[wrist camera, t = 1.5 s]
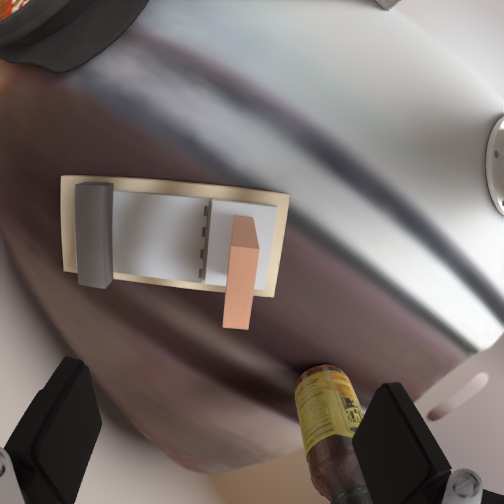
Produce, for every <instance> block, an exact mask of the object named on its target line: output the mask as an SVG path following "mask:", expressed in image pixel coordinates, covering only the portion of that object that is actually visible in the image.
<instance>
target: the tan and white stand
mask: <svg viewBox="0 0 504 504" xmlns="http://www.w3.org/2000/svg"><path fill="white" fill-rule="evenodd" d="M276 214H277V206H273V205H265V204H257V203H248V202H240V201H231V200H222V199H213V201H212V211H211V221H210V231H209V242H208V254H207V265H206V278H205V284H210V285H219V286H226V294H225V305H224V317H223V327H226V328H236V329H247V330H248V327H249V320H250V313H251V306H252V299H253V293H254V289H257V290H265V285H266V279H267V273H268V266H269V260H270V253H271V247H272V240H273V234H274V227H275V220H276Z"/></svg>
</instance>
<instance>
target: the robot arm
mask: <svg viewBox="0 0 504 504" xmlns="http://www.w3.org/2000/svg"><path fill="white" fill-rule="evenodd" d="M486 174H487V181H488V187H489V191H490V194H491V197H492V200H493V202H494V204H495V206H496V207H497V209H498V211H499V212H500V213H501V214H502V215H503V216H504V116H503V117H502V118H501V119H499V120H498V121H497V123H496V124H495V126H494V127H493V130H492V132H491V134H490V138H489V141H488V146H487V153H486ZM101 426H102V420H101V416H100V412H99V409H98V405H97V401H96V397H95V394H94V390H93V385H92V381H91V377H90V372H89V368H88V366H86V365H84V362H83V361H82V360H80V359H76V358H72V357H67V356H66V357H64V359H63V360H62V361H61V363H60V364H59V366H58V367H57V369H56V370H55V372H54V373H53V374H52V376H51V378H50V379H49V381H48V382H47V383H46V385H45V387H44V388H43V389H42V390H40V391H39V392H38V393H37V394H36V396H35V397H34V399H33V401H32V402H31V404H30V405H29V407H28V408H27V410H26V412H25V413H24V415H23V416H22V418H21V420H20V421H19V423H18V425H17V426H16V428H15V430H14V431H13V433H12V435H11V436H10V438H9V440H8V442H7V443H6V445H5V447H4V449H3V448H1V447H0V504H74V503H75V500H76V497H77V494H78V491H79V488H80V485H81V482H82V479H83V476H84V474H85V471H86V467H87V465H88V462H89V460H90V457H91V454H92V451H93V449H94V446H95V443H96V441H97V438H98V435H99V433H100V430H101ZM352 446H353V449H354V452H355V454H356V457H357V460H358V463H359V466H360V468H361V471H362V474H363V477H364V480H365V483H366V485H367V488H368V491H369V494H370V497H371V500H372V503H373V504H504V495H500V494H497V493H494V492H490V491H487V490H484V489H483V483H482V480H481V478H480V477H479V475H478V474H476V473H475V472H474V471H472V470H470V469H464V468H463V469H458V470H456V471H454V472H453V473H451V471H450V469H451V468H452V467H451V466H450V464H449V462H448V460H447V459H446V457H445V455H444V453H443V452H442V450H441V448H440V447H439V445H438V443H437V441H436V440H435V438H434V436H433V435H432V433H431V431H430V430H429V428H428V426H427V425H426V423H425V421H424V420H423V418H422V417H421V415H420V413H419V412H418V410H417V408H416V407H415V405H414V403H413V402H412V400H411V399H410V397H409V395H408V394H407V392H406V391H405V389H404V388H403V386H402V385H401V383H399V382H394V383H384V384H382V385H381V387H380V388H378V389H377V390H376V392H375V394H374V396H373V398H372V400H371V403H370V405H369V407H368V409H367V411H366V413H365V415H364V417H363V418H362V420H361V422H360V424H359V426H358V428H357V430H356V432H355V434H354V435H353V438H352Z"/></svg>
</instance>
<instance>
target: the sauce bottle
mask: <svg viewBox="0 0 504 504" xmlns="http://www.w3.org/2000/svg"><path fill="white" fill-rule="evenodd" d="M295 401H296V406H297V411H298V417H299V422H300V428H301V433H302V438H303V444H304V449H305V454H306V460H307V462H308V463H309V469H310V474H311V480H312V483H313V485H314V487H315V488H316V489H317V490H318V492H319V493H320V494H321V495H322V496H325V497H326V498H327V499H328V500H329V501H330V502H331V504H373V503H372V500H371V497H370V494H369V491H368V488H367V485H366V483H365V480H364V477H363V474H362V471H361V468H360V466H359V463H358V460H357V457H356V454H355V452H354V449H353V446H352V438H353V435H354V434H355V432H356V430H357V428H358V426H359V424H360V422H361V420H362V418H363V417H364V413H363V410H362V408H361V406H360V404H359V401H358V399H357V397H356V394H355V392H354V390H353V387H352V385H351V383H350V380H349V379H348V377H347V376H346V374H345V373H344V372H343V371H342V370H341V369H339V368H338V367H335V366H334V365H331V364H325V365H319V366H315V367H313V368H310V369H308V370H307V371H305V372H304V373H303V374H302V375H300V377H299V378H298V379H297V381H296V383H295Z"/></svg>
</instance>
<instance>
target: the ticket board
mask: <svg viewBox="0 0 504 504" xmlns="http://www.w3.org/2000/svg"><path fill="white" fill-rule="evenodd" d="M213 199H222V200H231V201H240V202H248V203H257V204H265V205H273V206H277V214H276V220H275V227H274V234H273V240H272V247H271V253H270V260H269V266H268V273H267V279H266V285H265V290H257V289H254V293H253V295H254V296H264V297H274V292H275V286H276V280H277V275H278V269H279V263H280V257H281V251H282V244H283V238H284V232H285V226H286V219H287V213H288V206H289V200H290V195H289V194H288V193H280V192H273V191H265V190H257V189H249V188H241V187H232V186H223V185H213V184H203V183H193V182H182V181H170V180H157V179H143V178H128V177H109V176H87V175H64V176H61V235H62V252H63V265H64V271H68V272H74V273H78V283H79V285H84V286H90V287H96V288H102V289H106V287H107V286H108V285H109V284H110V283H111V282H112V281H113V279H120V280H127V281H134V282H141V283H149V284H156V285H164V286H172V287H180V288H189V289H197V290H206V291H215V292H224V293H226V286H219V285H210V284H205V278H206V265H207V254H208V242H209V231H210V221H211V211H212V201H213Z"/></svg>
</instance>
